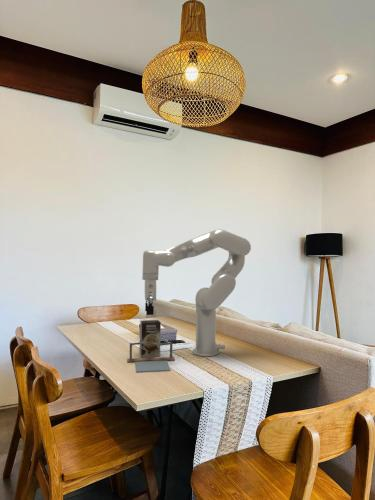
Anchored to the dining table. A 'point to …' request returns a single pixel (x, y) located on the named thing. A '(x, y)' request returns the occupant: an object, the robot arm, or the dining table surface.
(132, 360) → the wire stand
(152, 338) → the coffee box
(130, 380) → the dining table surface
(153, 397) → the dining table surface
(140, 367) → the mat
